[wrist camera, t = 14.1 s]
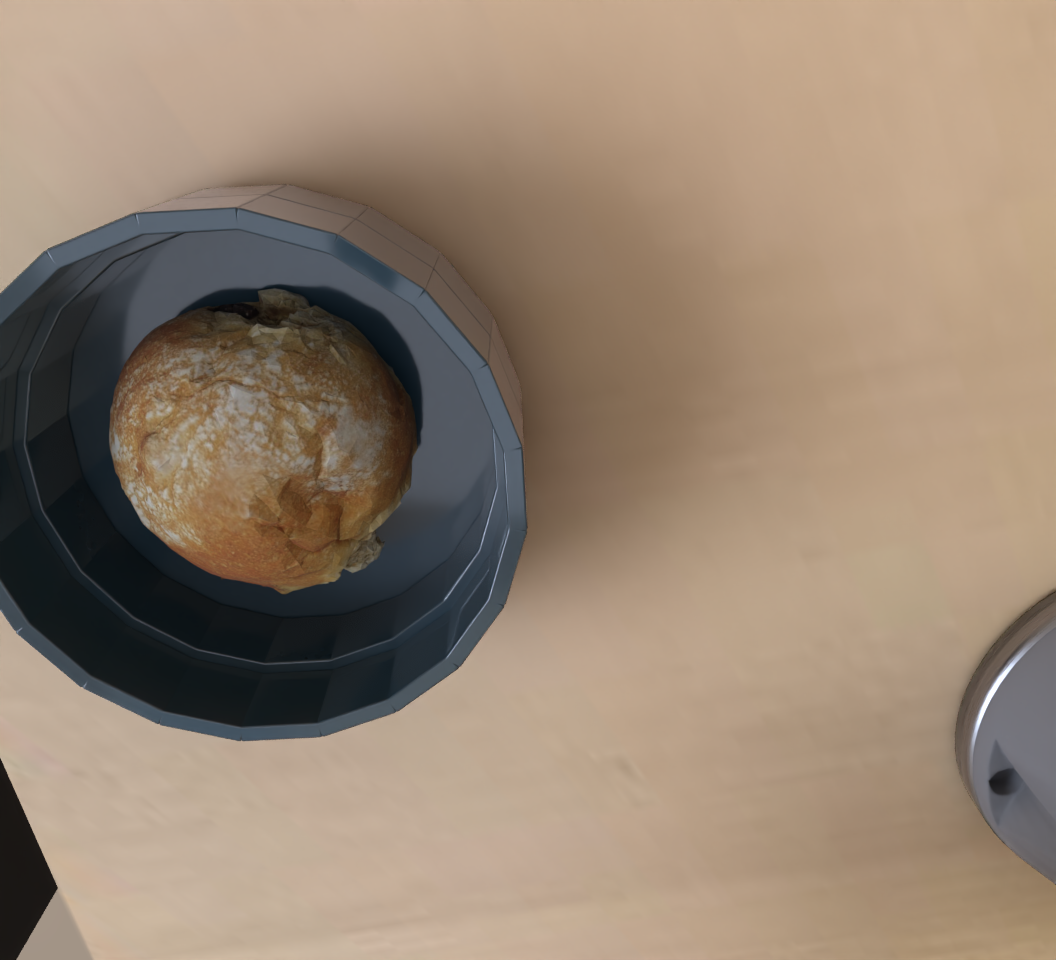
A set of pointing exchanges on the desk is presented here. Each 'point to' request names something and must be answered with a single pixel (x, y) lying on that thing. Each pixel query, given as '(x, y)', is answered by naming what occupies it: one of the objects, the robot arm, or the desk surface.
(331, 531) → the bread roll
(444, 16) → the desk surface
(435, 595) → the dark blue bowl
